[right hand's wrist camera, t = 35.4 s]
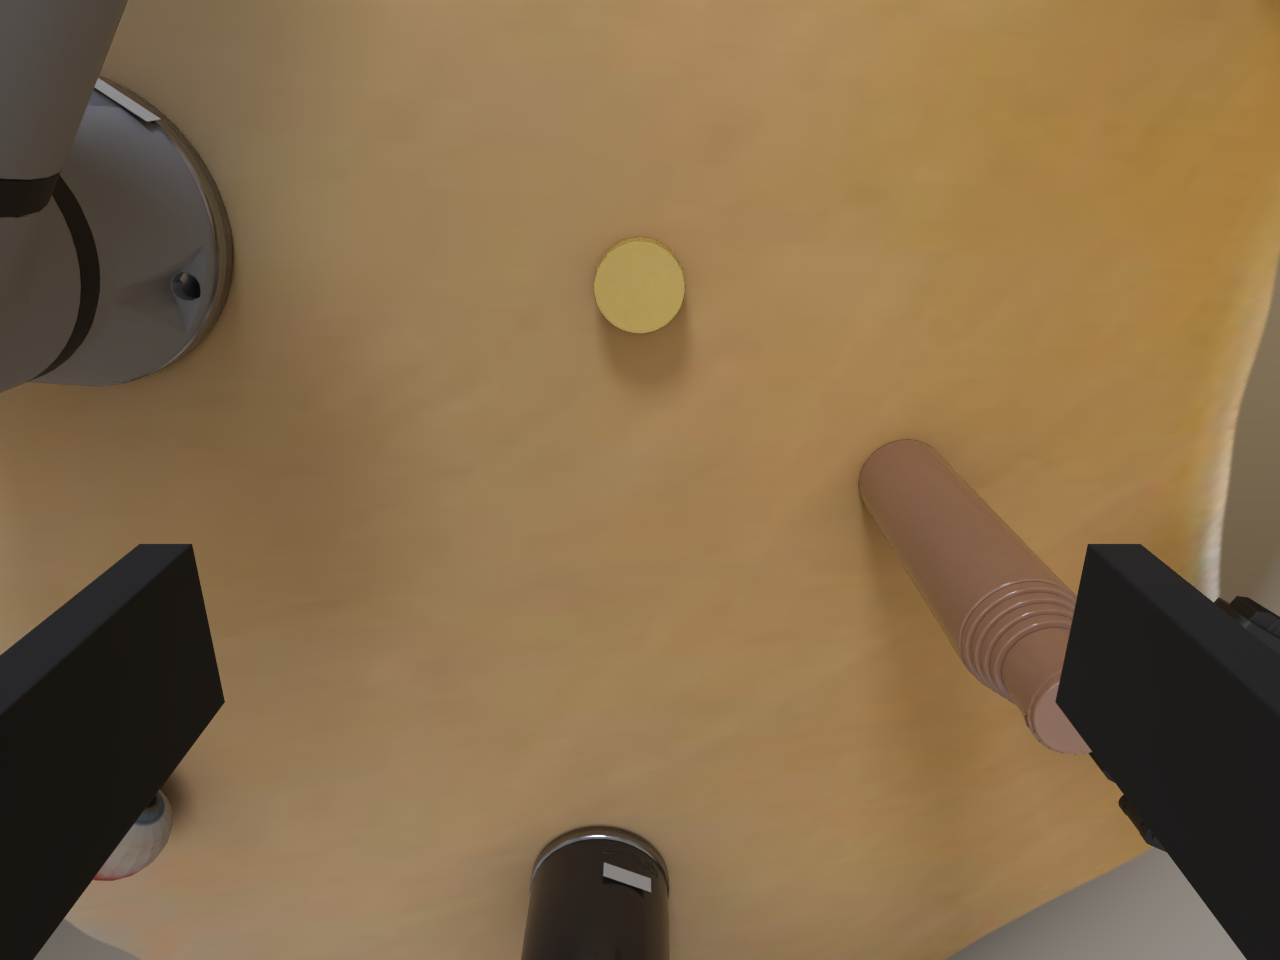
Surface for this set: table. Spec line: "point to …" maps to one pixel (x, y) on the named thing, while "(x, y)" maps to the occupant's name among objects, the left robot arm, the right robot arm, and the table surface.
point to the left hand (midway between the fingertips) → (1158, 680)
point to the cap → (639, 285)
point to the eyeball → (140, 841)
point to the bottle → (977, 582)
